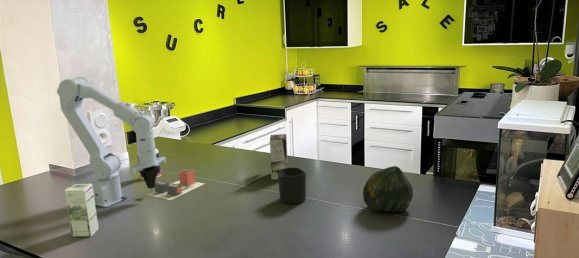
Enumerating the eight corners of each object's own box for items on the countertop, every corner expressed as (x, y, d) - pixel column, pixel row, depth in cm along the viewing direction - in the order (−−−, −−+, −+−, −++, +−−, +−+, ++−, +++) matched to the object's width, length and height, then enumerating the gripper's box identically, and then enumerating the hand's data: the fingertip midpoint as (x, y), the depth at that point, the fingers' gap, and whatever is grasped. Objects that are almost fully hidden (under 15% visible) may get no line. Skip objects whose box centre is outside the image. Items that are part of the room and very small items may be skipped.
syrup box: (99, 228, 129) (92, 182, 126) (91, 237, 123) (84, 189, 120) (80, 229, 129) (73, 183, 126) (71, 238, 123) (63, 190, 120)
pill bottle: (148, 183, 168) (143, 147, 165) (136, 180, 173) (131, 145, 170) (165, 177, 174) (161, 142, 171) (154, 174, 179) (149, 140, 176)
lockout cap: (188, 186, 159) (186, 172, 158) (180, 184, 161) (178, 171, 160) (195, 182, 163) (194, 169, 162) (187, 181, 165) (186, 168, 164)
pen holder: (309, 195, 149) (308, 168, 147) (303, 206, 140) (302, 177, 138) (283, 194, 152) (282, 166, 150) (275, 204, 143) (274, 175, 141)
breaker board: (170, 203, 147) (170, 199, 146) (146, 197, 153) (145, 194, 152) (205, 186, 162) (205, 183, 162) (181, 182, 168) (181, 179, 168)
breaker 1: (163, 193, 153) (162, 185, 152) (155, 191, 155) (154, 183, 154) (169, 190, 155) (168, 182, 155) (161, 188, 157) (160, 180, 157)
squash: (351, 186, 141) (368, 161, 130) (390, 181, 147) (410, 156, 135) (367, 225, 134) (387, 202, 122) (407, 218, 139) (430, 196, 127)
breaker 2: (177, 196, 150) (176, 187, 149) (167, 194, 152) (166, 185, 151) (183, 193, 152) (182, 185, 152) (173, 191, 154) (172, 183, 154)
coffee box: (287, 179, 167) (286, 139, 163) (271, 180, 167) (269, 139, 163) (288, 172, 176) (286, 133, 172) (272, 172, 176) (270, 134, 172)
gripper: (138, 156, 139) (142, 196, 142) (170, 146, 151) (174, 182, 154) (123, 154, 143) (128, 193, 146) (156, 144, 155) (160, 180, 158)
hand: (151, 187), depth 150 cm, fingers closed
